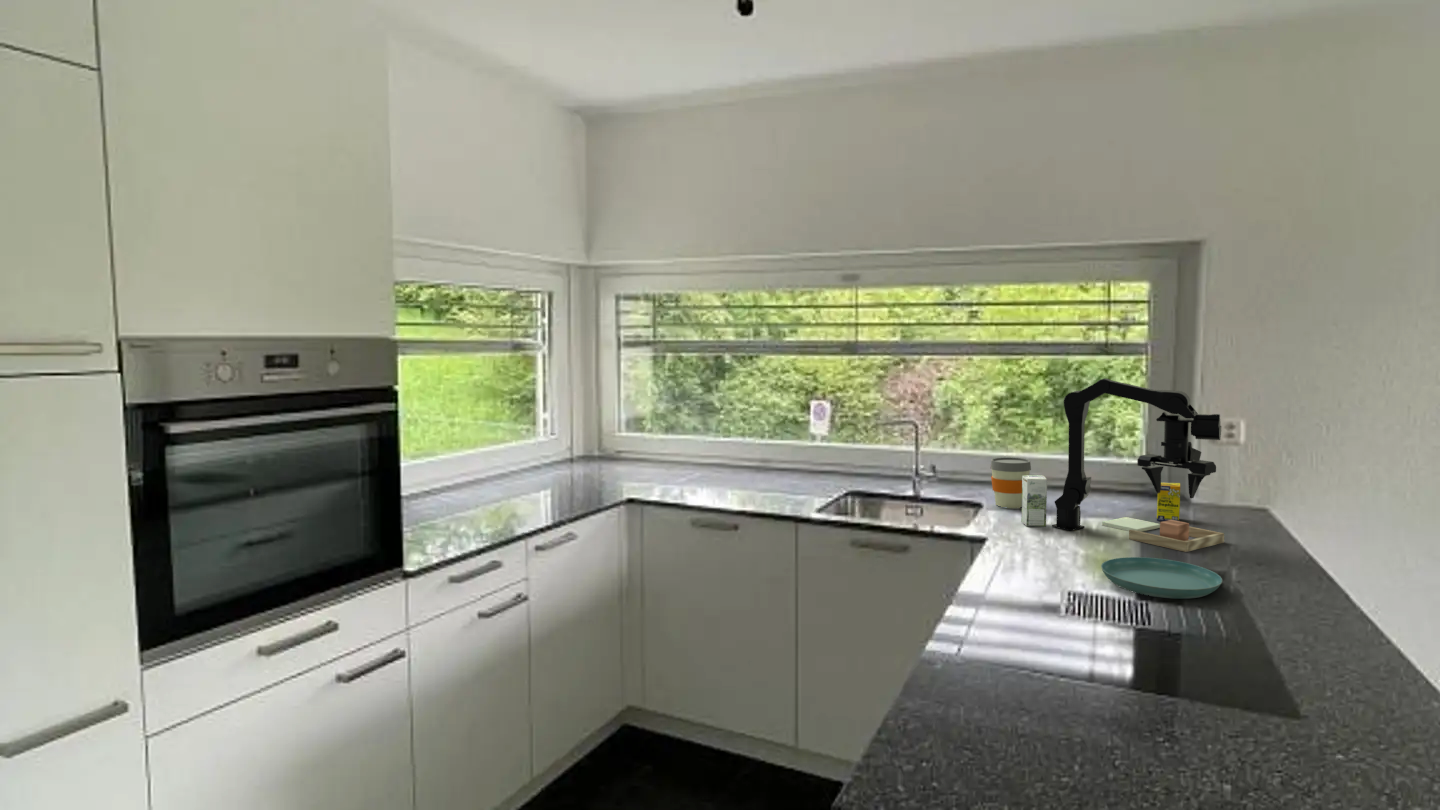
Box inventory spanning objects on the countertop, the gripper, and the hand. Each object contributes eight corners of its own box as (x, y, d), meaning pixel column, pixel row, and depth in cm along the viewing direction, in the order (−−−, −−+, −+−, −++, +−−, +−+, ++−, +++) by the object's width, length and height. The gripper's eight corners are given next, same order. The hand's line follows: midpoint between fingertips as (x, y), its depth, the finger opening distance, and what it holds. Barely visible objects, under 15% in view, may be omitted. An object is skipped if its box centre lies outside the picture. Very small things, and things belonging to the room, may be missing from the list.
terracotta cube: (1177, 544, 222) (1177, 525, 222) (1159, 540, 226) (1160, 522, 226) (1188, 541, 225) (1189, 523, 224) (1170, 537, 229) (1171, 519, 228)
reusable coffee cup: (1033, 510, 265) (1034, 463, 264) (992, 509, 268) (992, 463, 267) (1027, 502, 278) (1027, 457, 276) (987, 501, 280) (988, 457, 279)
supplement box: (1156, 521, 248) (1157, 484, 247) (1156, 516, 253) (1157, 481, 252) (1179, 523, 245) (1180, 486, 244) (1179, 518, 250) (1180, 482, 249)
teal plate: (1156, 608, 173) (1157, 592, 173) (1077, 575, 197) (1078, 562, 196) (1248, 596, 180) (1249, 581, 180) (1162, 566, 203) (1162, 553, 203)
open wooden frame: (1185, 552, 214) (1186, 542, 214) (1128, 539, 228) (1129, 530, 228) (1223, 542, 222) (1224, 533, 222) (1166, 530, 236) (1166, 521, 236)
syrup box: (1040, 522, 249) (1041, 474, 248) (1046, 527, 243) (1047, 478, 242) (1021, 522, 250) (1021, 474, 248) (1026, 527, 244) (1027, 478, 242)
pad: (1136, 532, 234) (1137, 529, 234) (1102, 525, 244) (1102, 521, 244) (1160, 527, 240) (1160, 524, 240) (1125, 520, 249) (1125, 516, 249)
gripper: (1228, 439, 220) (1227, 497, 221) (1160, 432, 236) (1159, 486, 237) (1204, 442, 214) (1202, 502, 216) (1136, 435, 230) (1135, 491, 232)
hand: (1174, 495), depth 225 cm, fingers open, 9 cm apart
